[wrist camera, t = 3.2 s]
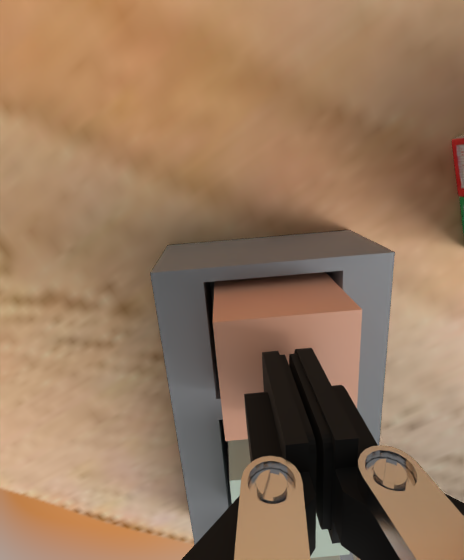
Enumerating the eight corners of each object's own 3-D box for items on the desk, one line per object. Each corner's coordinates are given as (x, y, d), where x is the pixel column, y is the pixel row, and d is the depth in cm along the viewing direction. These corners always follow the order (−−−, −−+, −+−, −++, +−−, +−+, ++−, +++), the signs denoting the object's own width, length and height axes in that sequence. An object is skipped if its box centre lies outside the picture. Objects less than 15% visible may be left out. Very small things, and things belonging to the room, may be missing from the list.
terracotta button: (319, 266, 16) (362, 309, 11) (319, 358, 18) (356, 429, 13) (214, 275, 16) (212, 322, 11) (223, 366, 18) (225, 441, 13)
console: (349, 229, 19) (394, 252, 14) (339, 507, 25) (367, 586, 21) (167, 245, 18) (150, 272, 14) (206, 519, 25) (203, 601, 20)
